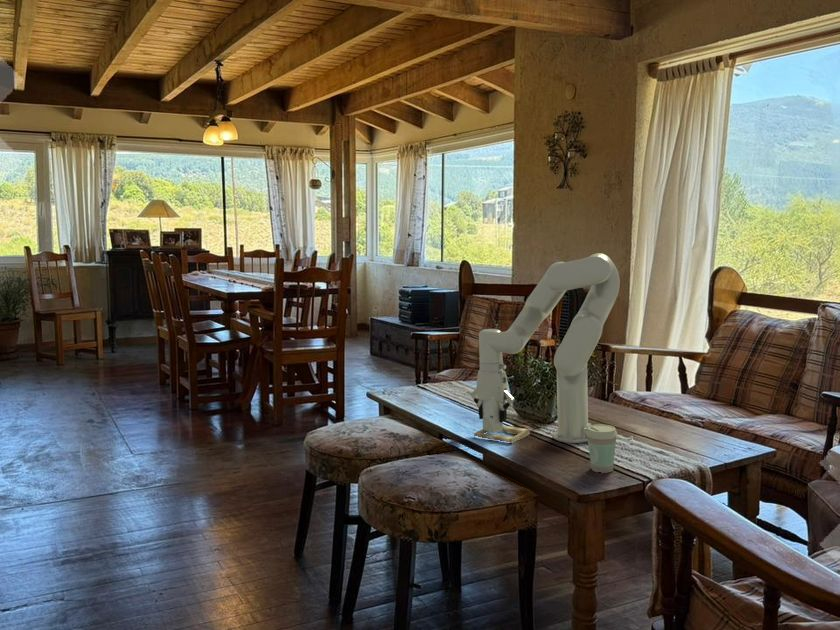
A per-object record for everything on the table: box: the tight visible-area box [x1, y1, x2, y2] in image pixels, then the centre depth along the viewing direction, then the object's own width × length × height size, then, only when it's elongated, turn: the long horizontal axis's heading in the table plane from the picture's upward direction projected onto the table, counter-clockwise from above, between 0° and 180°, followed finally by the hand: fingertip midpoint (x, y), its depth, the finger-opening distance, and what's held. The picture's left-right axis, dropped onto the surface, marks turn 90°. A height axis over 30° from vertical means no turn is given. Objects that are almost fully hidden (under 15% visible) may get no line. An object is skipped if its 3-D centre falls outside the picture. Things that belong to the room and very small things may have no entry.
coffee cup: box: [586, 423, 619, 474], centre depth 202 cm, size 8×8×12 cm
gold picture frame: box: [473, 425, 531, 443], centre depth 237 cm, size 14×12×2 cm
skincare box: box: [482, 397, 504, 434], centre depth 238 cm, size 6×4×12 cm
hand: (492, 419), depth 238 cm, fingers open, 7 cm apart
